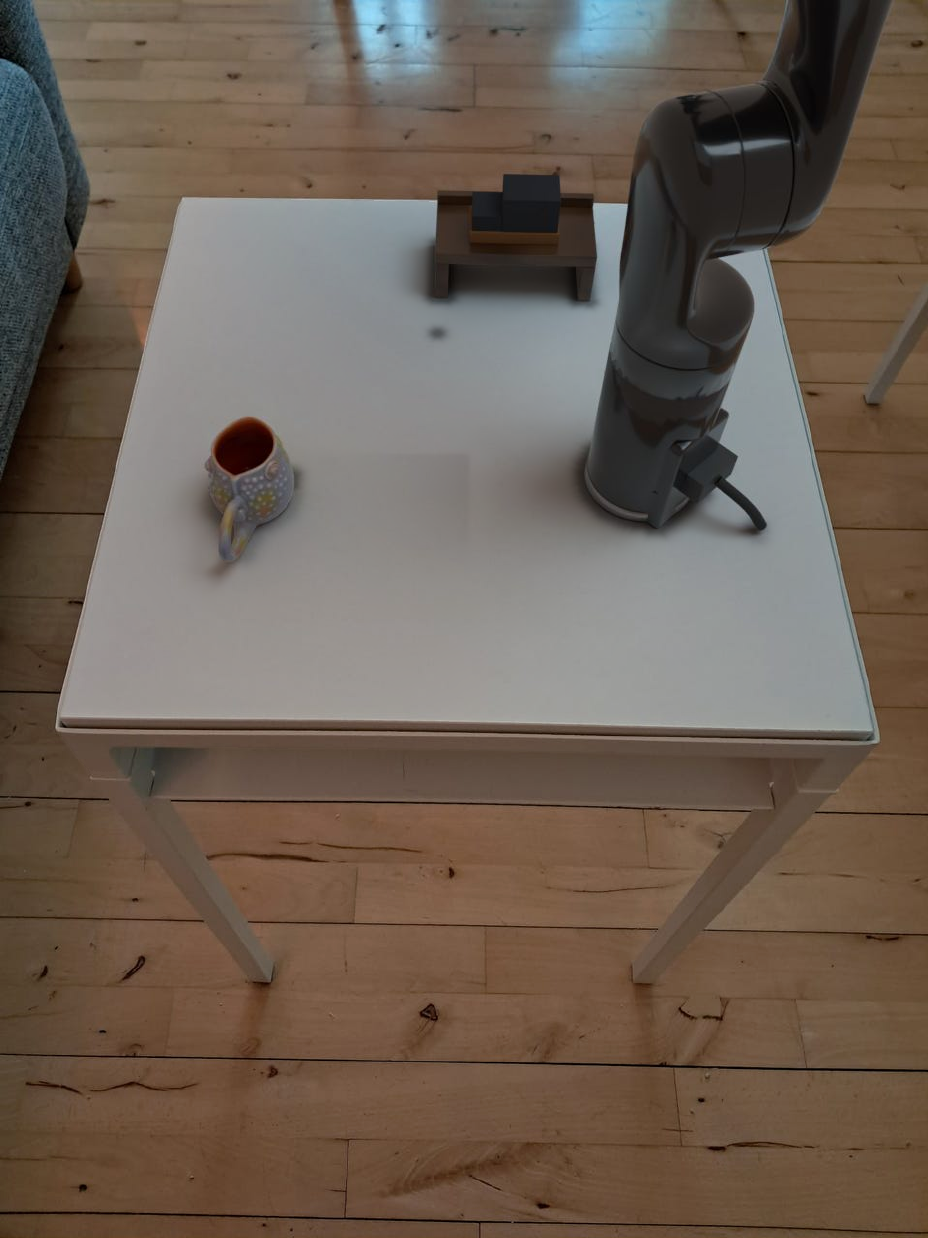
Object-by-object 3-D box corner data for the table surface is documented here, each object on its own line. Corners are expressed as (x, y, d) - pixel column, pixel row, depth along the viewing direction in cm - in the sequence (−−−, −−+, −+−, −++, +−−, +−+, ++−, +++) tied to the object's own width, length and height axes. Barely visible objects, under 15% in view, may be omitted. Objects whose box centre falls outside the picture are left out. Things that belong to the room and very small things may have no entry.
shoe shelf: (586, 247, 96) (594, 192, 91) (590, 300, 92) (598, 247, 87) (437, 244, 96) (437, 189, 91) (435, 297, 92) (434, 244, 87)
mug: (229, 459, 82) (212, 405, 76) (306, 470, 81) (295, 417, 75) (186, 573, 76) (164, 524, 70) (268, 586, 75) (254, 537, 69)
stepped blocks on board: (556, 217, 91) (561, 173, 87) (558, 244, 89) (563, 201, 85) (469, 215, 91) (470, 172, 87) (469, 243, 89) (470, 199, 85)
